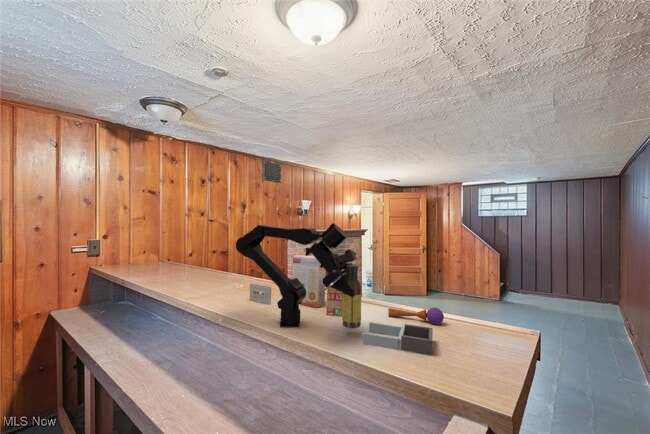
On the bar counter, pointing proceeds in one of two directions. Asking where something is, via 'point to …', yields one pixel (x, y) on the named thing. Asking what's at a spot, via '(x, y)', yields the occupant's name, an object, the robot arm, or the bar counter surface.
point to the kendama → (420, 314)
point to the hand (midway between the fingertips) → (356, 293)
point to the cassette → (260, 298)
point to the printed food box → (334, 301)
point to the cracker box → (310, 279)
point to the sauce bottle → (352, 299)
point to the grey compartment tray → (400, 337)
